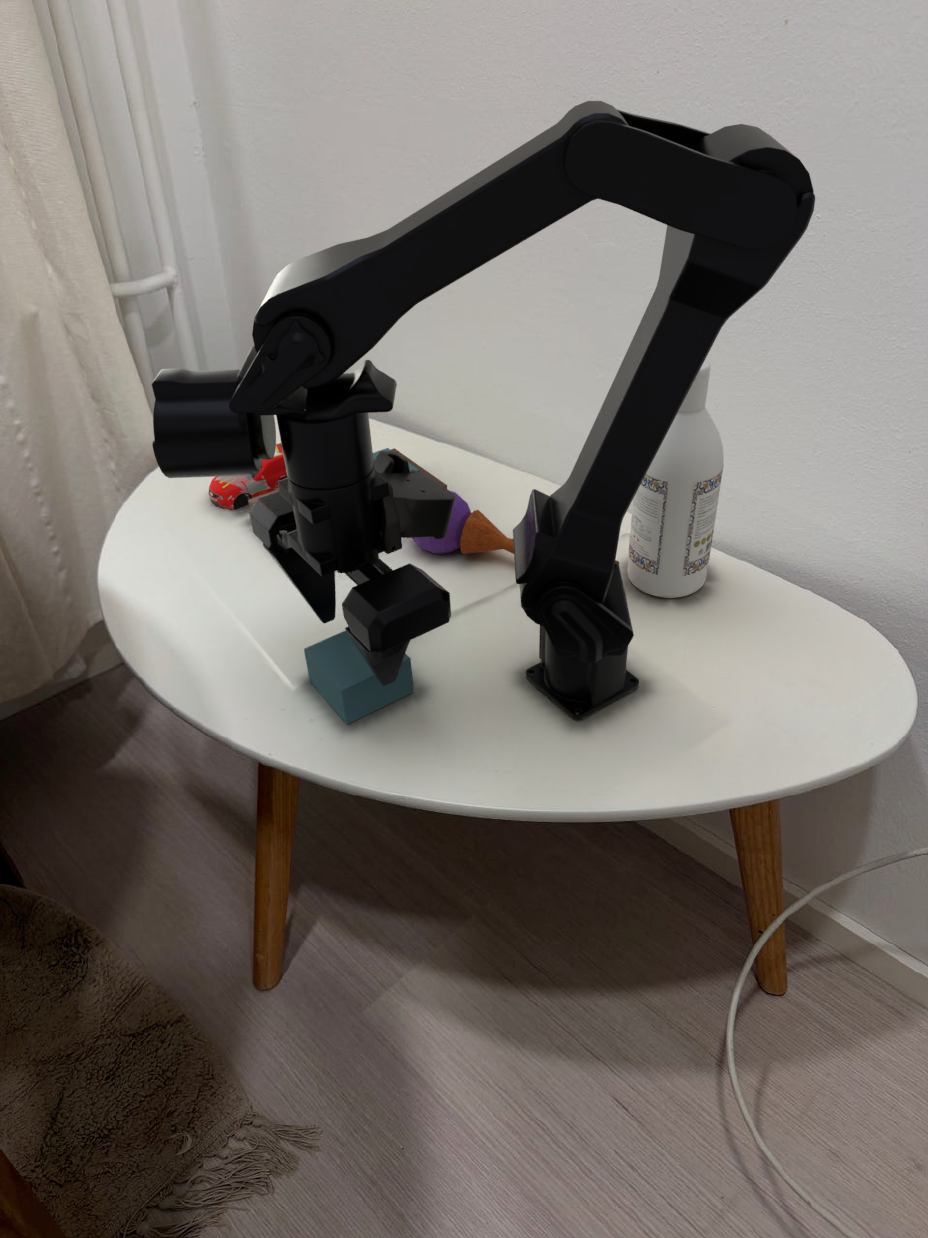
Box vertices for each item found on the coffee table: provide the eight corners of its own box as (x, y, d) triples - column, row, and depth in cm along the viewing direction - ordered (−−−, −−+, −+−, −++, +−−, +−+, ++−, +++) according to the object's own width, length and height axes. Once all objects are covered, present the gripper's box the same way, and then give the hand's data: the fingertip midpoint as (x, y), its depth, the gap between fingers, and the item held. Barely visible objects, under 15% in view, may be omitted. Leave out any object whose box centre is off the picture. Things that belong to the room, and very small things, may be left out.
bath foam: (703, 557, 84) (734, 345, 72) (707, 603, 79) (742, 382, 66) (627, 553, 85) (644, 343, 73) (625, 598, 80) (644, 380, 67)
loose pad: (414, 692, 71) (410, 658, 69) (346, 725, 69) (341, 690, 67) (374, 652, 75) (370, 618, 73) (309, 682, 73) (303, 648, 71)
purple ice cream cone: (600, 578, 75) (392, 508, 82) (596, 625, 80) (399, 555, 87) (627, 532, 79) (425, 468, 86) (622, 579, 83) (430, 515, 90)
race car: (223, 520, 93) (214, 485, 90) (202, 498, 96) (194, 464, 94) (338, 478, 98) (333, 445, 96) (315, 459, 102) (309, 426, 99)
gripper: (515, 485, 57) (516, 672, 67) (365, 388, 70) (384, 558, 79) (360, 547, 53) (386, 738, 62) (229, 431, 65) (267, 606, 75)
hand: (357, 650), depth 70 cm, fingers open, 9 cm apart
